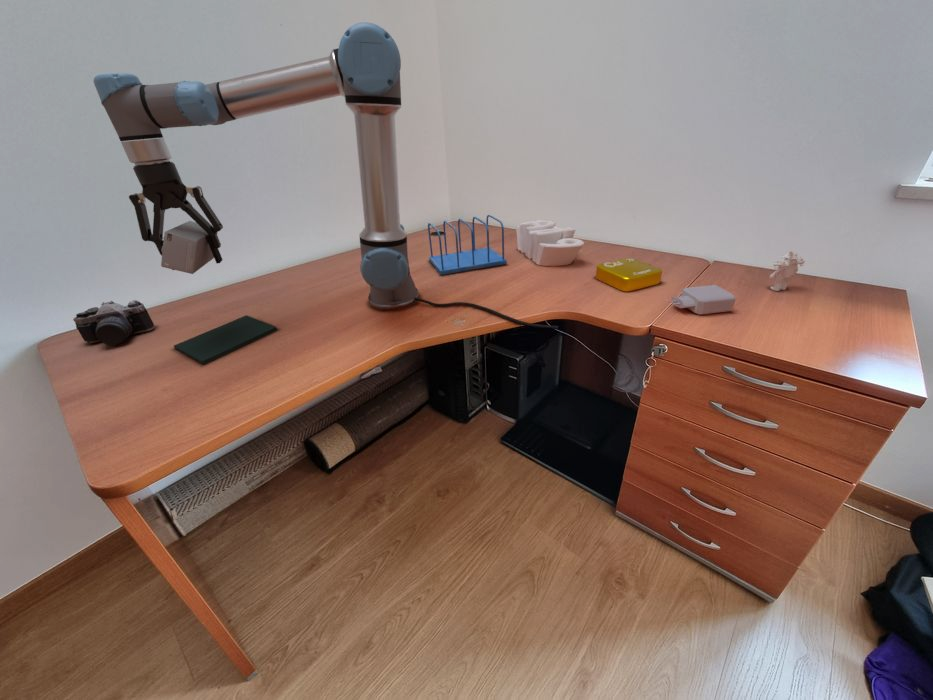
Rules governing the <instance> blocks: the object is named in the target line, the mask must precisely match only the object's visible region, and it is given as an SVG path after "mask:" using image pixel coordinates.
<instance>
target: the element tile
mask: <svg viewBox="0 0 933 700" xmlns="http://www.w3.org/2000/svg"><path fill="white" fill-rule="evenodd" d="M662 275H663V269H662V268H660V267H657V266H654V265H651V264H648V263H646V262H643V261H641V260H638V259H637V258H633V257H626V258H621V259H617V260H612V261H607V262H602V263H599V264H597V265H596V270H595V279H596V280H599V281H600V282H603V283H605V284H606V285H609V286H610V287H612V288H615V289H617V290H619V291H621V292H627V293H628V292H633V291H637V290H640V289H644V288H648V287H652V286H656V285H659V284H660V283H661V280H662Z"/></svg>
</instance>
